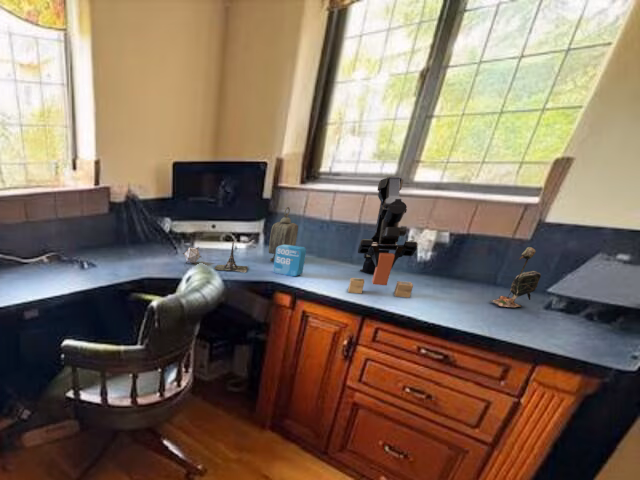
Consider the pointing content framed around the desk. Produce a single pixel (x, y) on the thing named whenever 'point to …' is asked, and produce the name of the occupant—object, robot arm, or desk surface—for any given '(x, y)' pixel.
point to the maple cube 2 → (403, 289)
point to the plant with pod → (521, 283)
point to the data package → (289, 260)
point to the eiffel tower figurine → (232, 264)
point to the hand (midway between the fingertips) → (384, 266)
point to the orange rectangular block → (383, 268)
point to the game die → (192, 255)
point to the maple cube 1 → (356, 285)
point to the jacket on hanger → (282, 234)
